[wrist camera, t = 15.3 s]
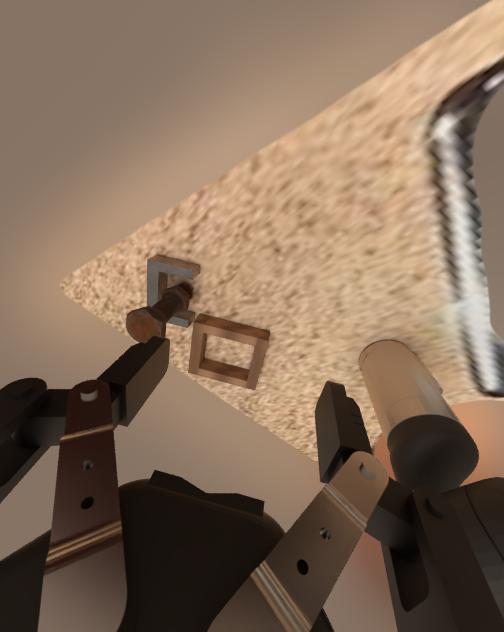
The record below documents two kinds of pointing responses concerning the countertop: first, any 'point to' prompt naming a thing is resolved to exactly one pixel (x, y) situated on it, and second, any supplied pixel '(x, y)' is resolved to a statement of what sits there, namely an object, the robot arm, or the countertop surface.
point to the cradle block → (158, 283)
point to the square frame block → (232, 332)
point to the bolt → (158, 314)
